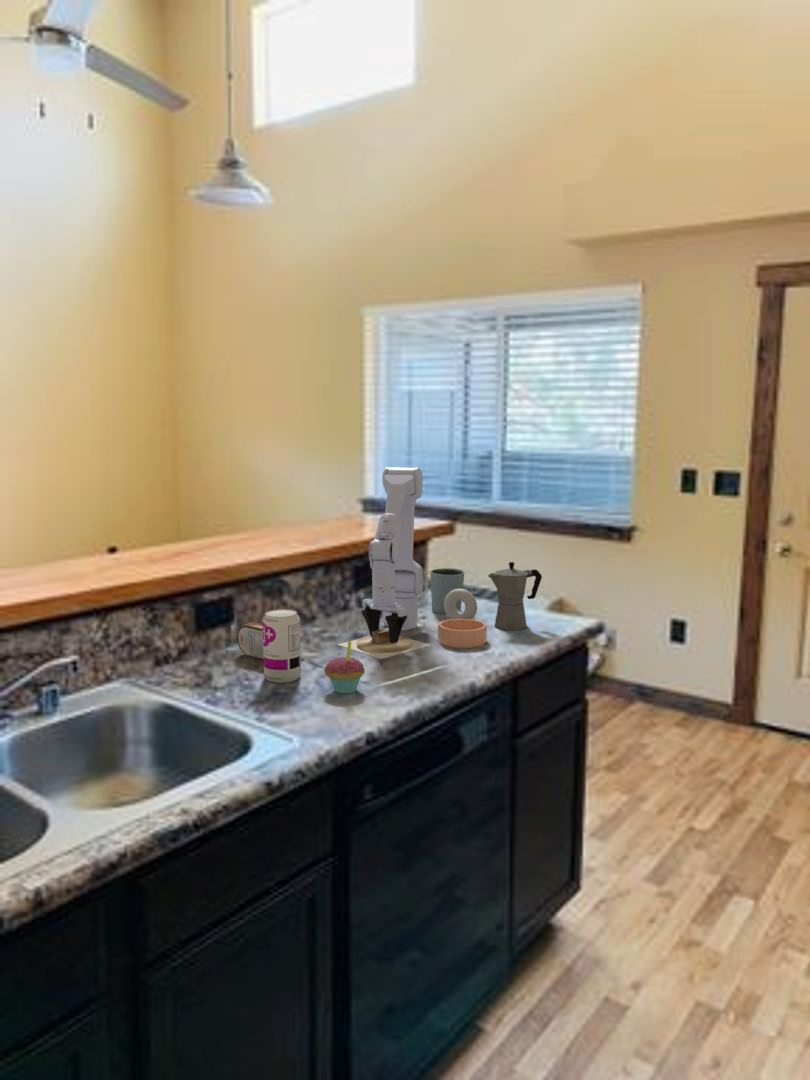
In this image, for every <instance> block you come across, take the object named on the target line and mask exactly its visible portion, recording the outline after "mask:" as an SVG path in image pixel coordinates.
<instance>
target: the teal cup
mask: <svg viewBox="0 0 810 1080" xmlns="http://www.w3.org/2000/svg"><path fill="white" fill-rule="evenodd" d="M429 574H430V576H429V577H430V594H431V611H432V612H433V613H434V612H435V613H434V614H438V613H439V615H446V612H445V610H444V601H445V598H446V596H447V594H448V593H449V592H451V591H452V590H454V589H464V588H463V586H464V580H465V570H462V569H458V568H451V567H450V568H449V567H448V568H447V567H446V568H434V569H432V570H430V572H429ZM462 603H463V602H462V601H460V600H459V601H457V602H456V608H457V610H458V611H459V612H462V611H461V610H462Z"/></svg>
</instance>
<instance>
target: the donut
mask: <svg viewBox="0 0 810 1080" xmlns="http://www.w3.org/2000/svg"><path fill="white" fill-rule="evenodd" d="M459 600H460V601H461V602H462V603H463V604H464V606H465V607H464V610H463V611H460V612H459V611H458V610H457V608H456V602H457V601H459ZM477 603H478V602H477V599H476V597H475V596H474V594H472V592H470V591H469V590H467V589H465V588H463V589H454V590H452V591H451V592H449V593H448V594H447V596H446V598H445V601H444V610H445V612H446V614H445V615H446V617H448V620H449V619H473V620H474V619H475V617H476V615H477V614H478V613H477V611H478V604H477Z"/></svg>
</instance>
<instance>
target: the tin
mask: <svg viewBox="0 0 810 1080" xmlns="http://www.w3.org/2000/svg"><path fill="white" fill-rule="evenodd" d="M236 633H237V644H238V648H239V650H240V651H241V652H242V654H244V655H245V656H247V655H248V656H247V657H249V656H251V657H250V658H253V657H255V658H254V659H257V658H258V659H257V660H261V661H264V650H263V623H260V622H254V621H250V622H247V623H245V624H243V625H241V626H240V627H239V628H238V629H237V632H236Z"/></svg>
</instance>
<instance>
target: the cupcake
mask: <svg viewBox="0 0 810 1080" xmlns="http://www.w3.org/2000/svg"><path fill="white" fill-rule="evenodd" d="M351 641H352V637H350V638H349V640H348V641H347V642H348V648H346V650H347V651H346V656H345V657H344V656H342V657H341V656H339V657H335V658H333V659H332V660H331V661H329V662H328V663H327V664H326V666H324V675H325V676H326V677H328V678H329V680H330V681H331V684H332V687H333V690H334V692H336V693H338V694H352V693H355V692H356V691H357V690H358V687H359V686H358V685H359V683H360V681H361V678H362V676H363V675H364V674H365V667H364V664H363V663H362V662H361V661H360V660H359V659H356V658H355V657H351V651H352V649H351Z"/></svg>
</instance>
